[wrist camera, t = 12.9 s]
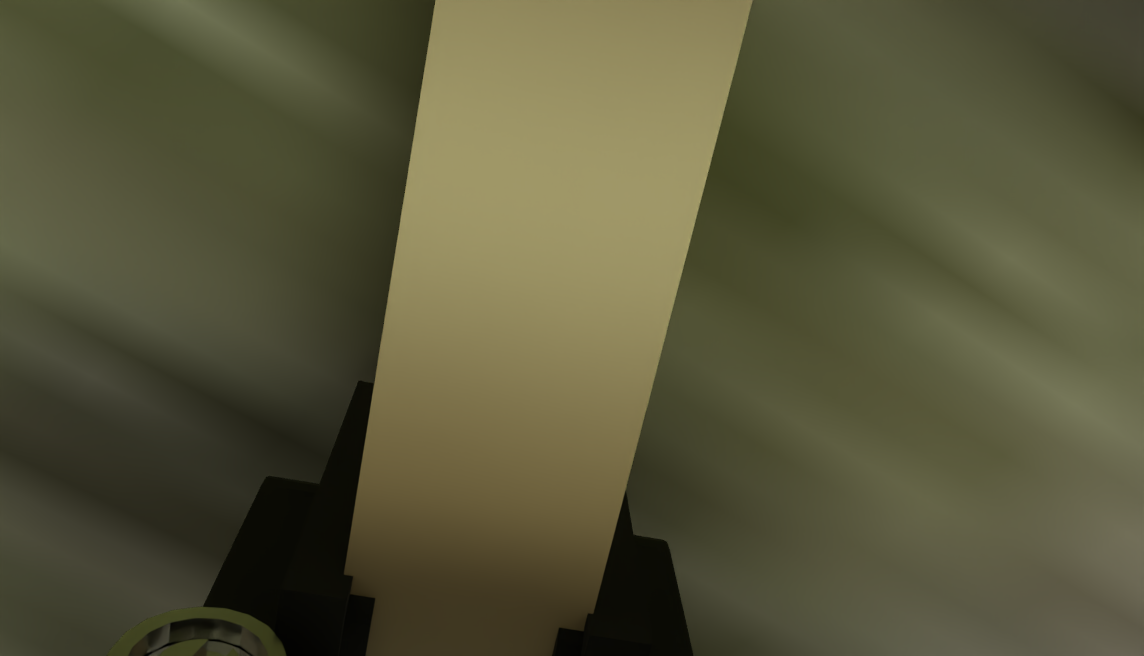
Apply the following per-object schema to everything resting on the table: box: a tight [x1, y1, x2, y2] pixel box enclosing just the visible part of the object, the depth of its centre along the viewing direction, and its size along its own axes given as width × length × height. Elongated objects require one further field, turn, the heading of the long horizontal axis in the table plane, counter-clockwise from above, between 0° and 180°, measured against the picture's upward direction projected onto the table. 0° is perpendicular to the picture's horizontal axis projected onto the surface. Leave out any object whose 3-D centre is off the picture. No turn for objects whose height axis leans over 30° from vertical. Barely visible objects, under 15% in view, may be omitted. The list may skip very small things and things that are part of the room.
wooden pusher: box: [344, 0, 753, 656], centre depth 9 cm, size 31×9×4 cm, turn 168°
